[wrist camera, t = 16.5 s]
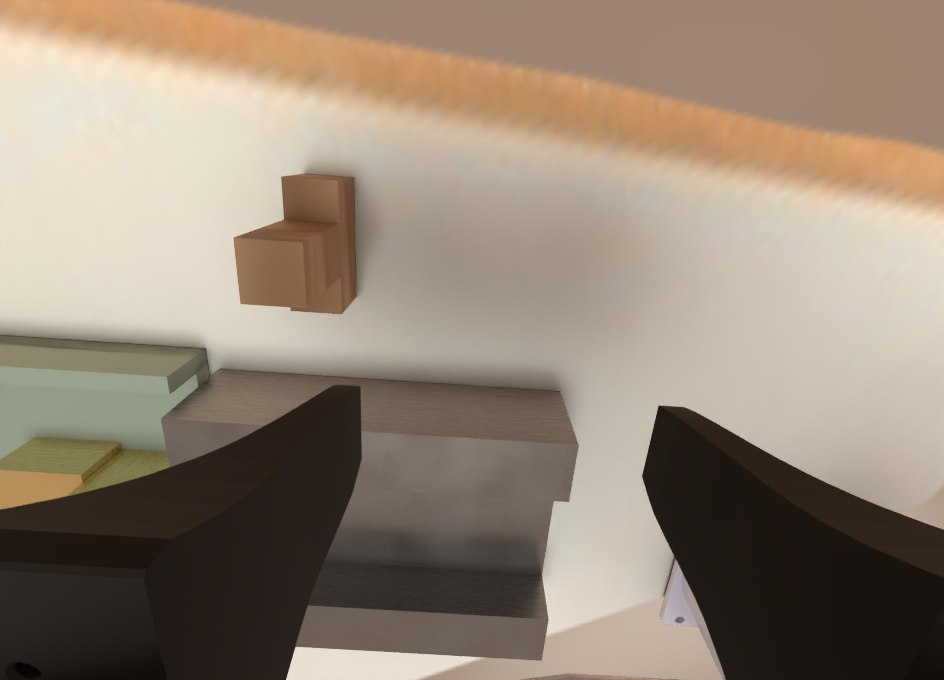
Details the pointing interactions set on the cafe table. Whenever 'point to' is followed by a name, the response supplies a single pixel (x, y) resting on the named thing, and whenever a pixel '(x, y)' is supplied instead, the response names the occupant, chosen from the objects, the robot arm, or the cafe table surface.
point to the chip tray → (92, 390)
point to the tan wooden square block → (50, 468)
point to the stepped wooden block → (303, 249)
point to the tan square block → (124, 469)
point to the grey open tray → (418, 508)
